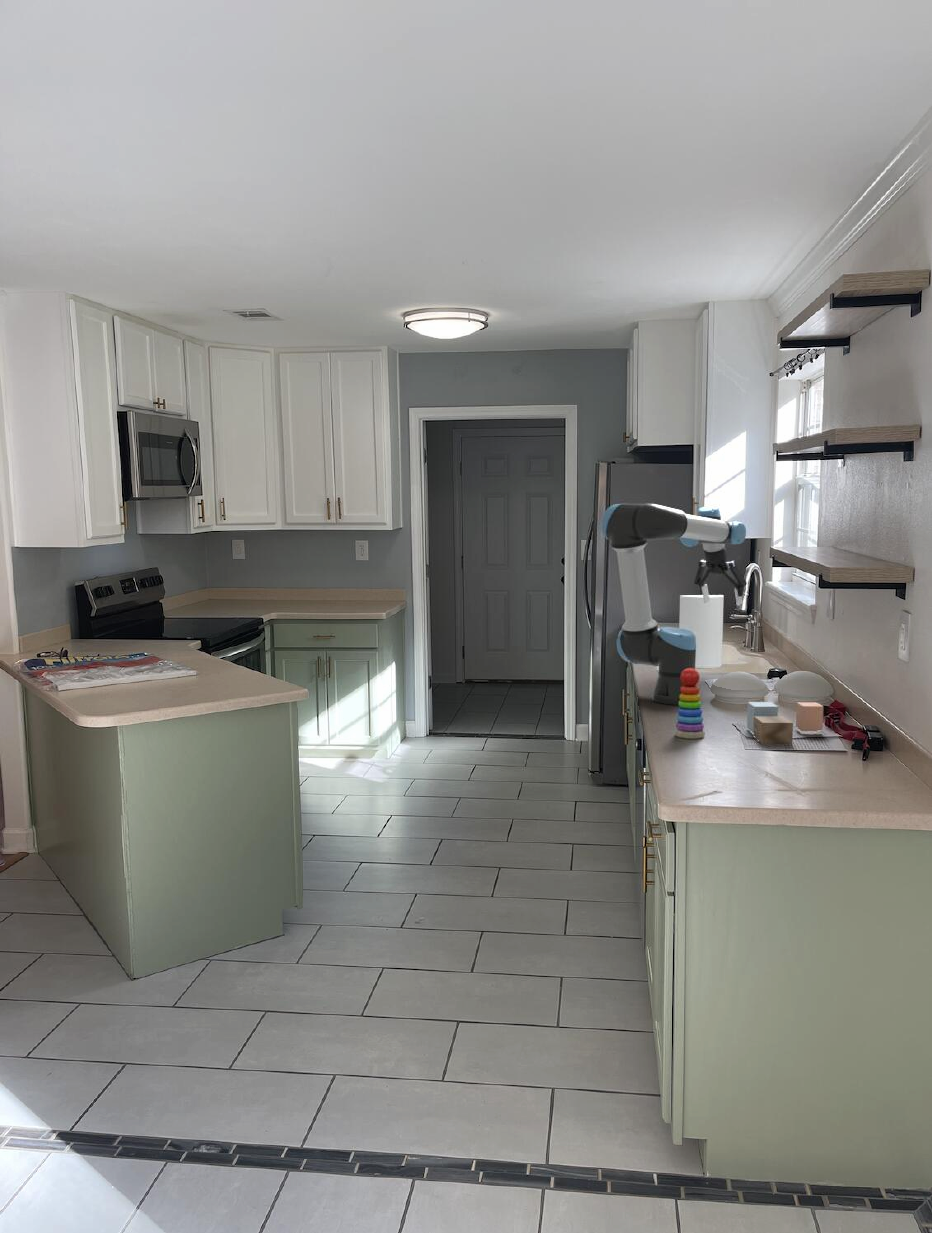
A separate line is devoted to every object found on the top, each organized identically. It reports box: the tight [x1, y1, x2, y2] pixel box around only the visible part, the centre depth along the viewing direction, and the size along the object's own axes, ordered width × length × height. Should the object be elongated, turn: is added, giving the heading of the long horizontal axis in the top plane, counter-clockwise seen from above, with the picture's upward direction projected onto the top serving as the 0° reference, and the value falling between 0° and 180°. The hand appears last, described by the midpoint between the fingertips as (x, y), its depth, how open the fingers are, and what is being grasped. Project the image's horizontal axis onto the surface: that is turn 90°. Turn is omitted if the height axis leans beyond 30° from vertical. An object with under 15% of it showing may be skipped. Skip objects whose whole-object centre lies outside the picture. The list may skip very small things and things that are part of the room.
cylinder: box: [678, 594, 725, 669], centre depth 387 cm, size 17×17×28 cm
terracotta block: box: [795, 701, 824, 731], centre depth 268 cm, size 6×6×8 cm
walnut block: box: [752, 715, 794, 746], centre depth 259 cm, size 8×8×6 cm
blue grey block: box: [746, 701, 779, 733], centre depth 269 cm, size 6×6×8 cm
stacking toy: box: [674, 668, 706, 740], centre depth 263 cm, size 8×8×19 cm
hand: (723, 603), depth 354 cm, fingers open, 13 cm apart
